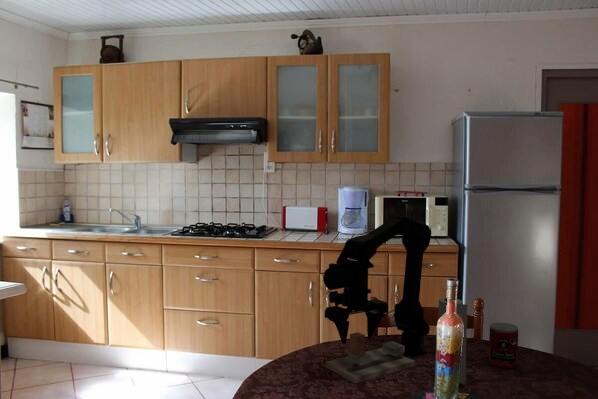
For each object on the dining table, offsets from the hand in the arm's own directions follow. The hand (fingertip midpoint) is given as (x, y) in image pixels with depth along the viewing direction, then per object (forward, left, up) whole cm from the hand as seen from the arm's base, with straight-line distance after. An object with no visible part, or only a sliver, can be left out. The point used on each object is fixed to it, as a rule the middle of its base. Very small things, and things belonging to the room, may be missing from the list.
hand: (356, 340), depth 140 cm
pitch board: (-5, 0, -8) cm, 10 cm away
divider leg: (0, +1, -7) cm, 7 cm away
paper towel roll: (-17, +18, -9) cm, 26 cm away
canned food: (-39, +19, -9) cm, 44 cm away
